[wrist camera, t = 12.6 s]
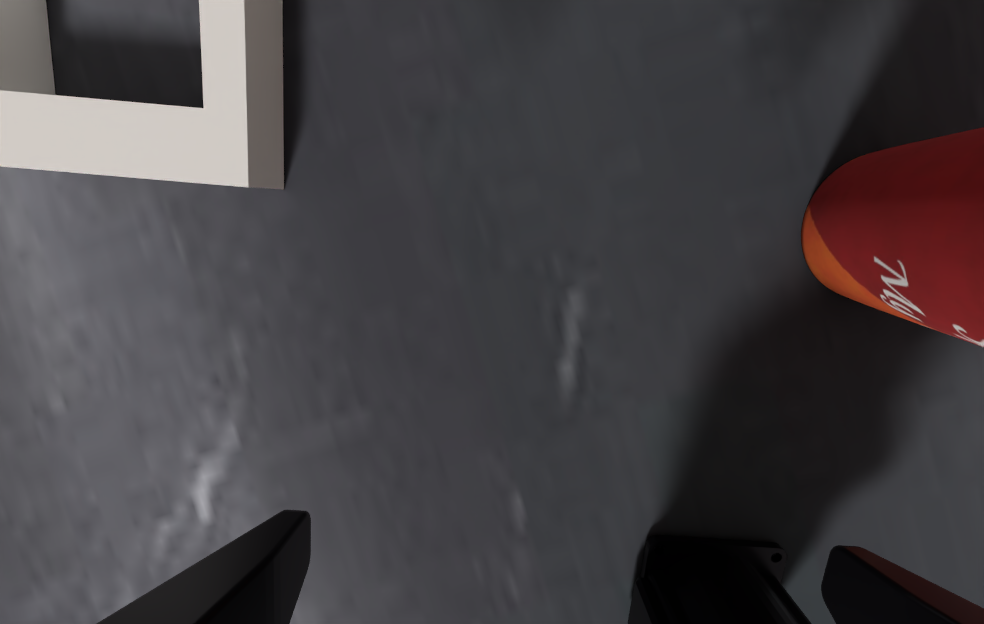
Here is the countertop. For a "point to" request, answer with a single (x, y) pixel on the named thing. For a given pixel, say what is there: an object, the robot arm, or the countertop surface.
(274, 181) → the white hollow block
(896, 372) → the countertop surface
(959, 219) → the coffee cup
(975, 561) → the countertop surface
